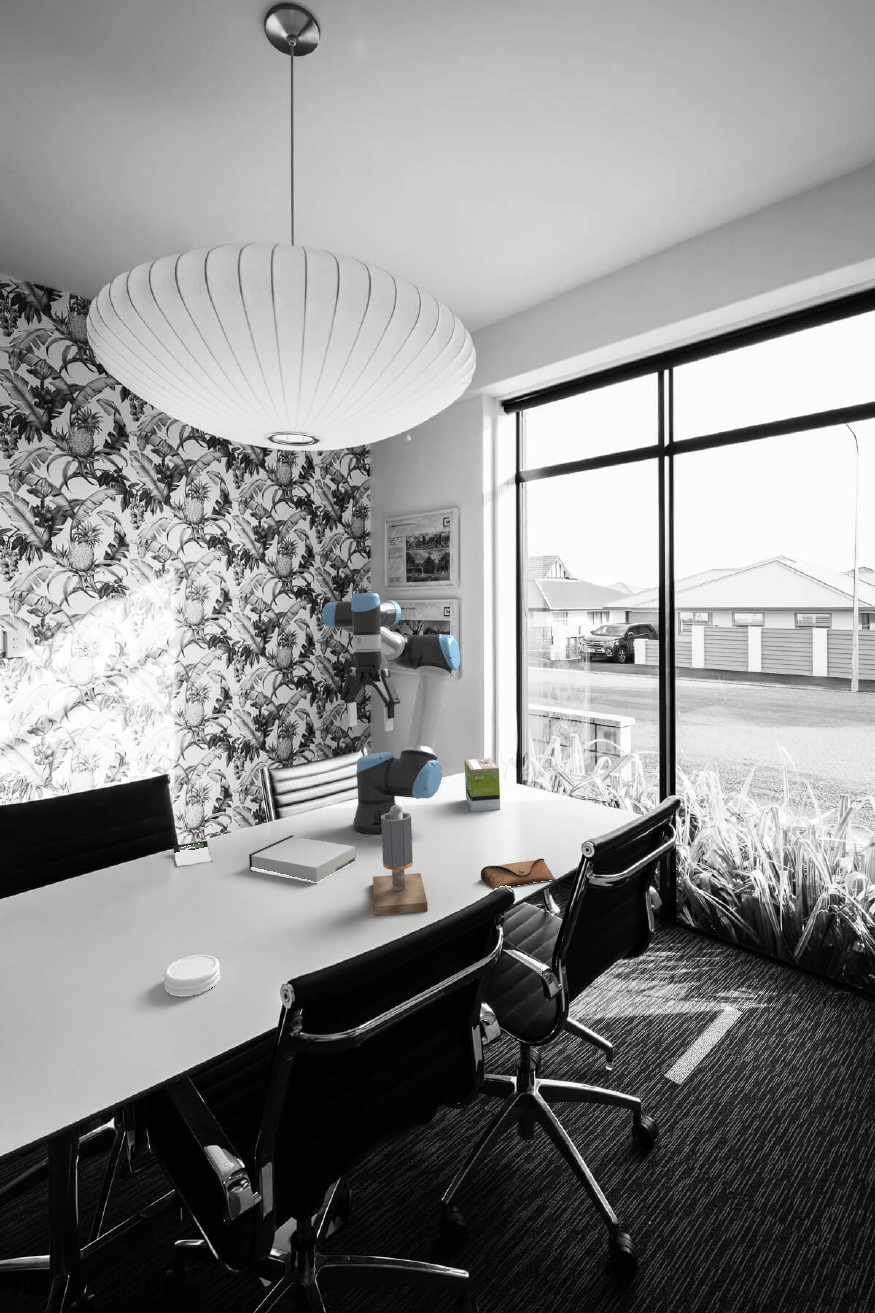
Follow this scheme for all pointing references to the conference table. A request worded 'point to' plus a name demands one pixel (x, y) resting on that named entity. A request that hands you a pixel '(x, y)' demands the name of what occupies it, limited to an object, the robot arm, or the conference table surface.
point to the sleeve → (396, 840)
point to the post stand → (399, 886)
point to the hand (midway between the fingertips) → (370, 728)
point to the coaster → (192, 975)
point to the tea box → (482, 784)
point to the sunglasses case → (516, 874)
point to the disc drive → (303, 858)
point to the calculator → (196, 845)
